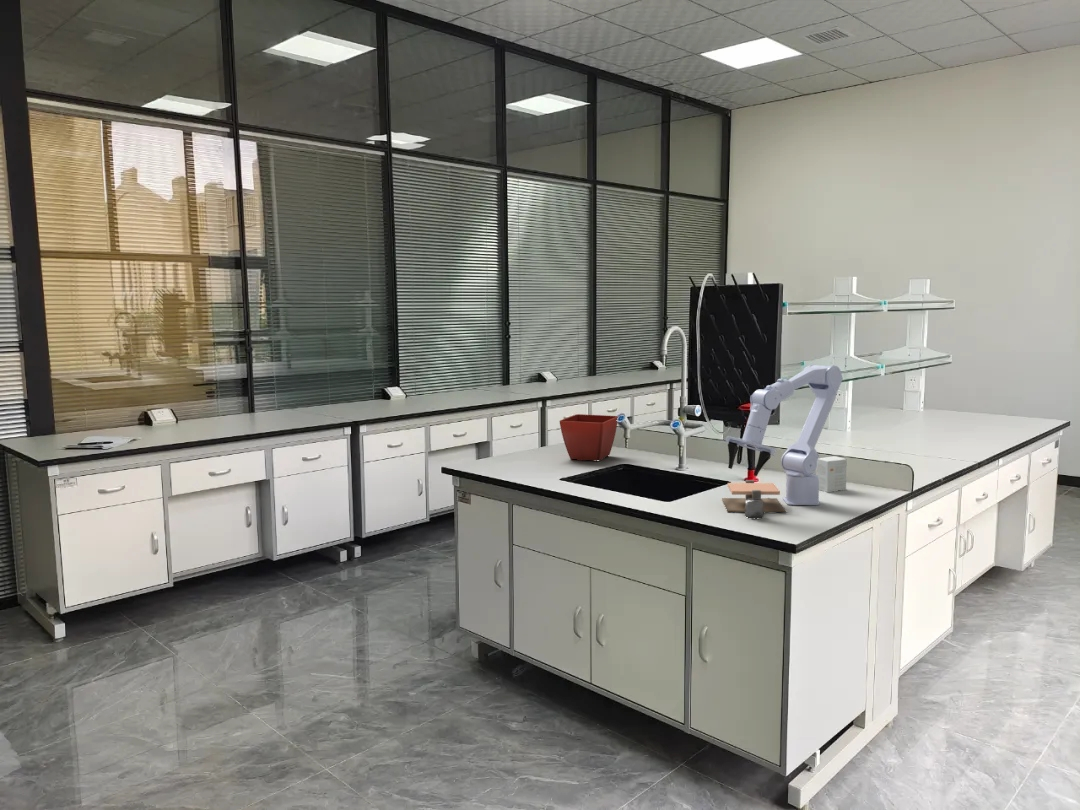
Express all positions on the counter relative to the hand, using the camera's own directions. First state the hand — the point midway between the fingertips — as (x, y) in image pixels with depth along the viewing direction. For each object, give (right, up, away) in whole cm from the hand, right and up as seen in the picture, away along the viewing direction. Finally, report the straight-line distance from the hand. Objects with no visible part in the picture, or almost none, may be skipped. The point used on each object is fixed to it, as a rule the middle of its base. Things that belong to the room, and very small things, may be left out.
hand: (742, 472), depth 227 cm
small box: (+37, -8, +28) cm, 47 cm away
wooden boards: (+6, -11, +10) cm, 16 cm away
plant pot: (-39, -2, +91) cm, 99 cm away
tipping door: (+6, -6, +9) cm, 12 cm away
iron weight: (+3, -13, -2) cm, 13 cm away
